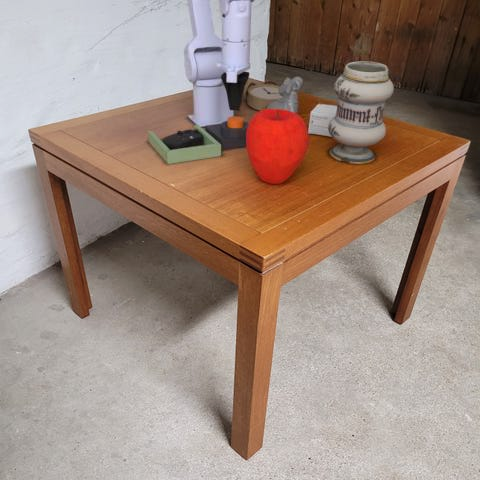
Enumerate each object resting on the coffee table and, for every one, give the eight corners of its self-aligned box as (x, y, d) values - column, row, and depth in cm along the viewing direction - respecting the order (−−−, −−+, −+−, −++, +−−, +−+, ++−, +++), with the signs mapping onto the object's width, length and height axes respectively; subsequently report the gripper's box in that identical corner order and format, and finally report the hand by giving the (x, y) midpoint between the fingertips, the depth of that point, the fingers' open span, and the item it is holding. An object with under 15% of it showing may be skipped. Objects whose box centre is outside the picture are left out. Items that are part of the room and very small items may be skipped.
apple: (307, 171, 104) (315, 103, 95) (300, 196, 95) (307, 123, 87) (251, 165, 106) (254, 97, 97) (238, 188, 97) (240, 116, 88)
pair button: (224, 125, 114) (224, 117, 113) (239, 123, 115) (239, 115, 114) (231, 130, 111) (231, 122, 110) (246, 128, 112) (246, 120, 111)
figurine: (261, 116, 130) (263, 71, 124) (300, 120, 129) (304, 74, 122) (255, 127, 124) (257, 79, 117) (296, 130, 122) (300, 83, 116)
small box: (307, 133, 121) (309, 111, 118) (315, 124, 127) (318, 102, 123) (339, 139, 119) (342, 116, 116) (346, 128, 125) (350, 107, 121)
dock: (198, 135, 119) (198, 124, 117) (221, 156, 109) (221, 144, 108) (148, 142, 114) (147, 130, 113) (167, 164, 105) (167, 152, 103)
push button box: (205, 135, 119) (204, 117, 116) (240, 130, 122) (240, 113, 119) (222, 150, 112) (222, 132, 109) (259, 145, 115) (260, 127, 112)
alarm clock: (258, 102, 130) (237, 76, 138) (256, 120, 133) (235, 94, 142) (297, 98, 133) (274, 73, 142) (294, 116, 137) (271, 90, 146)
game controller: (188, 132, 117) (200, 118, 112) (200, 153, 117) (213, 139, 113) (156, 143, 111) (168, 128, 106) (169, 165, 112) (181, 151, 107)
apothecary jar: (318, 160, 109) (330, 69, 97) (331, 141, 117) (344, 56, 106) (375, 170, 105) (394, 76, 94) (384, 150, 114) (402, 62, 103)
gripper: (220, 31, 108) (220, 98, 117) (211, 46, 97) (211, 119, 105) (254, 33, 108) (251, 100, 116) (248, 47, 96) (245, 121, 105)
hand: (234, 109), depth 111 cm, fingers closed
